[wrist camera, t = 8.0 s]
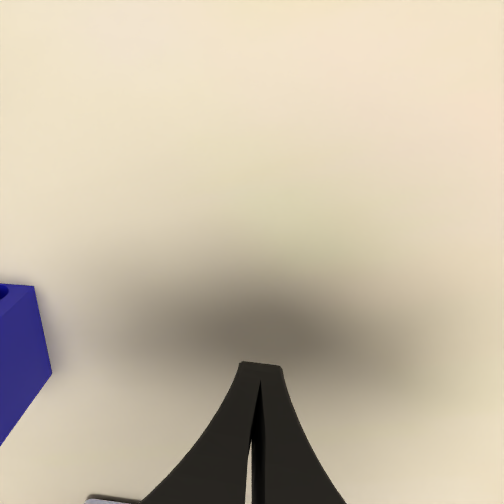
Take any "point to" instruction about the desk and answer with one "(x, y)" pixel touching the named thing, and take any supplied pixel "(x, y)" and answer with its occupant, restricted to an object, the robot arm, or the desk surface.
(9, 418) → the cable clip
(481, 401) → the desk surface
